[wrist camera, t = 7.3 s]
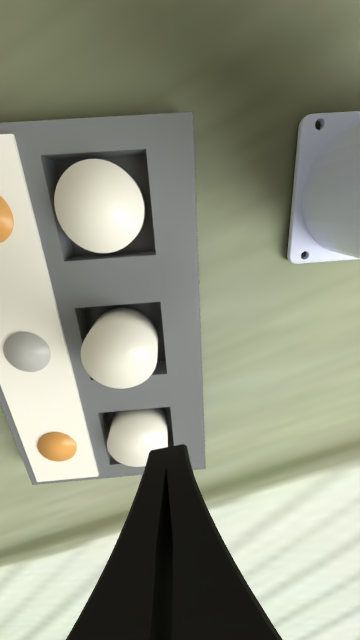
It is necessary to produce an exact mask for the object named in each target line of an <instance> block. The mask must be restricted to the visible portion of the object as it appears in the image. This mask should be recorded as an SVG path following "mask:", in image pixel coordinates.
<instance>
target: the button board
mask: <svg viewBox="0 0 360 640" xmlns="http://www.w3.org/2000/svg"><path fill="white" fill-rule="evenodd" d="M86 159H101V160H106V161H109V162H111V163H113V164H116V165H117V166H119V167H120V168H122V169H123V170H124V171H125V172H126V173H127V174H128V175H130V176H131V177H132V178H133V179H134V181H135V182H136V183H137V184H138V186H139V187H140V189H141V191H142V193H143V196H144V199H145V204H146V217H145V222H144V225H143V227H142V229H141V231H140V233H139V234H138V235H137V236H136V237H135V239H134V240H133V241H132V242H131V243H129V244H128V245H127V246H126V247H124V248H122V249H120V250H118V251H115V252H111V253H96V252H92V251H89V250H86V249H84V248H82V247H80V246H79V245H77V244H76V243H74V242H73V241H72V240H71V239H70V238H69V237H68V236H67V235H66V233H65V232H64V230H63V229H62V227H61V225H60V224H59V221H58V219H57V216H56V212H55V206H54V196H55V190H56V186H57V183H58V181H59V179H60V177H61V176H62V174H63V173H64V172H65V171H66V170H67V169H68V168H69V167H70V166H72V165H73V164H75V163H77V162H79V161H82V160H86ZM115 308H131V309H134V310H137V311H139V312H141V313H143V314H145V315H146V316H147V317H148V318H149V319H150V320H151V321H152V322H153V324H154V325H155V327H156V330H157V333H158V355H157V364H156V367H155V369H154V371H153V373H152V374H151V376H150V377H149V378H148V379H147V380H146V381H144V382H143V383H141V384H139V385H137V386H134V387H131V388H123V389H119V388H111V387H108V386H105V385H102V384H100V383H99V382H97V381H95V380H94V379H93V378H92V377H91V376H90V375H89V374H88V373H87V372H86V370H85V368H84V366H83V364H82V361H81V347H82V344H83V341H84V339H85V338H86V336H87V334H88V333H89V331H90V329H91V328H92V326H93V325H94V323H95V321H96V320H97V319H98V318H99V317H100V316H101V315H102V314H103V313H105V312H107V311H109V310H111V309H115ZM0 403H1V406H2V408H3V411H4V414H5V416H6V419H7V421H8V424H9V426H10V429H11V431H12V434H13V437H14V439H15V442H16V444H17V447H18V449H19V452H20V454H21V457H22V460H23V462H24V465H25V467H26V470H27V472H28V475H29V477H30V480H31V483H32V485H36V484H47V483H58V482H68V481H79V480H90V479H101V478H111V477H122V476H133V475H143V472H144V469H145V466H143V467H132V466H127V465H124V464H122V463H119V462H118V461H116V460H115V459H114V458H113V457H112V456H111V455H110V453H109V451H108V448H107V441H108V436H109V432H110V428H111V424H112V420H113V416H114V413H115V411H127V410H138V409H150V408H161V407H162V408H163V410H164V411H165V413H166V415H167V428H168V447H171V446H176V445H181V444H184V445H186V446H187V449H188V453H189V457H190V462H191V466H192V470H198V469H206V465H205V436H204V408H203V379H202V351H201V323H200V294H199V266H198V237H197V209H196V181H195V152H194V124H193V112H180V113H162V114H145V115H127V116H109V117H92V118H74V119H57V120H39V121H22V122H4V123H0Z"/></svg>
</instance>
